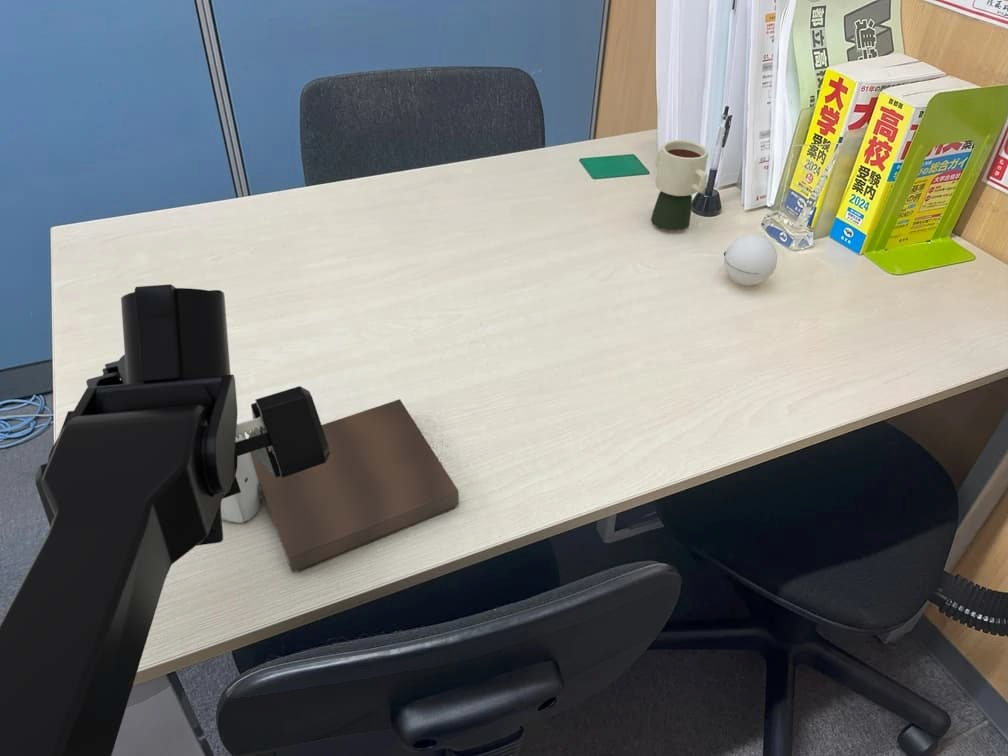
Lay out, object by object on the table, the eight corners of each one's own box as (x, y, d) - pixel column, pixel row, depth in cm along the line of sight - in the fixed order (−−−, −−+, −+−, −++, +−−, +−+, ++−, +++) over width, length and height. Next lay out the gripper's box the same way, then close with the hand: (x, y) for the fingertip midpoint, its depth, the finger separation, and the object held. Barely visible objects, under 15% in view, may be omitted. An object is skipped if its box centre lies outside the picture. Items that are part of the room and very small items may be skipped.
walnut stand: (292, 574, 65) (288, 558, 64) (251, 465, 75) (246, 449, 73) (459, 506, 72) (458, 490, 70) (401, 414, 81) (399, 398, 80)
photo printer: (270, 496, 72) (244, 408, 64) (248, 529, 69) (218, 441, 61) (180, 474, 74) (144, 385, 66) (155, 505, 71) (114, 416, 62)
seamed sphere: (749, 264, 109) (762, 221, 104) (779, 290, 103) (795, 246, 99) (693, 275, 106) (704, 231, 101) (722, 302, 100) (734, 258, 96)
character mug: (708, 234, 115) (727, 158, 106) (674, 245, 112) (691, 167, 104) (664, 206, 122) (679, 132, 113) (631, 215, 119) (644, 140, 110)
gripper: (293, 304, 48) (278, 341, 63) (-25, 387, 41) (40, 407, 56) (345, 459, 48) (318, 460, 63) (37, 568, 41) (86, 541, 56)
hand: (197, 463), depth 59 cm, fingers open, 9 cm apart
